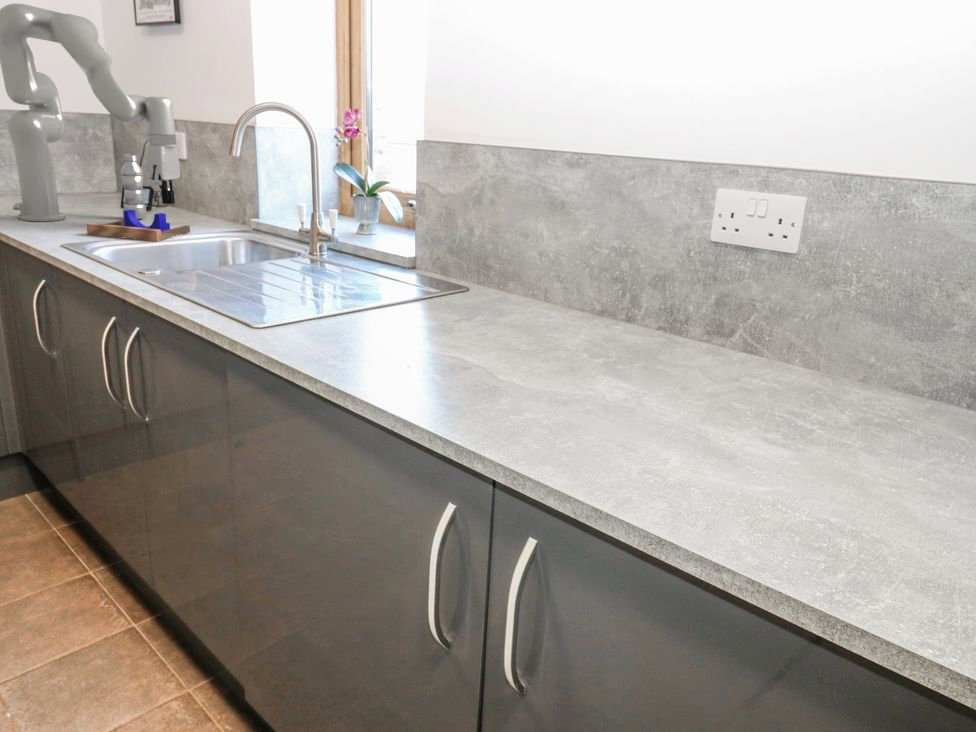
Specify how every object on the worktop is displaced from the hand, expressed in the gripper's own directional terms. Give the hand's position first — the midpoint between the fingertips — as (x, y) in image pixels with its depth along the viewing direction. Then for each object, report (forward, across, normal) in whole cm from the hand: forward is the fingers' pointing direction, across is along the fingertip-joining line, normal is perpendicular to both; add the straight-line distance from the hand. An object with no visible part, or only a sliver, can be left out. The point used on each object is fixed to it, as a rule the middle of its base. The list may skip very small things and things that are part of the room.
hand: (168, 203), depth 226 cm
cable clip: (+8, +10, -1) cm, 13 cm away
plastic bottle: (+7, -8, -17) cm, 20 cm away
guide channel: (+7, +14, -1) cm, 16 cm away
